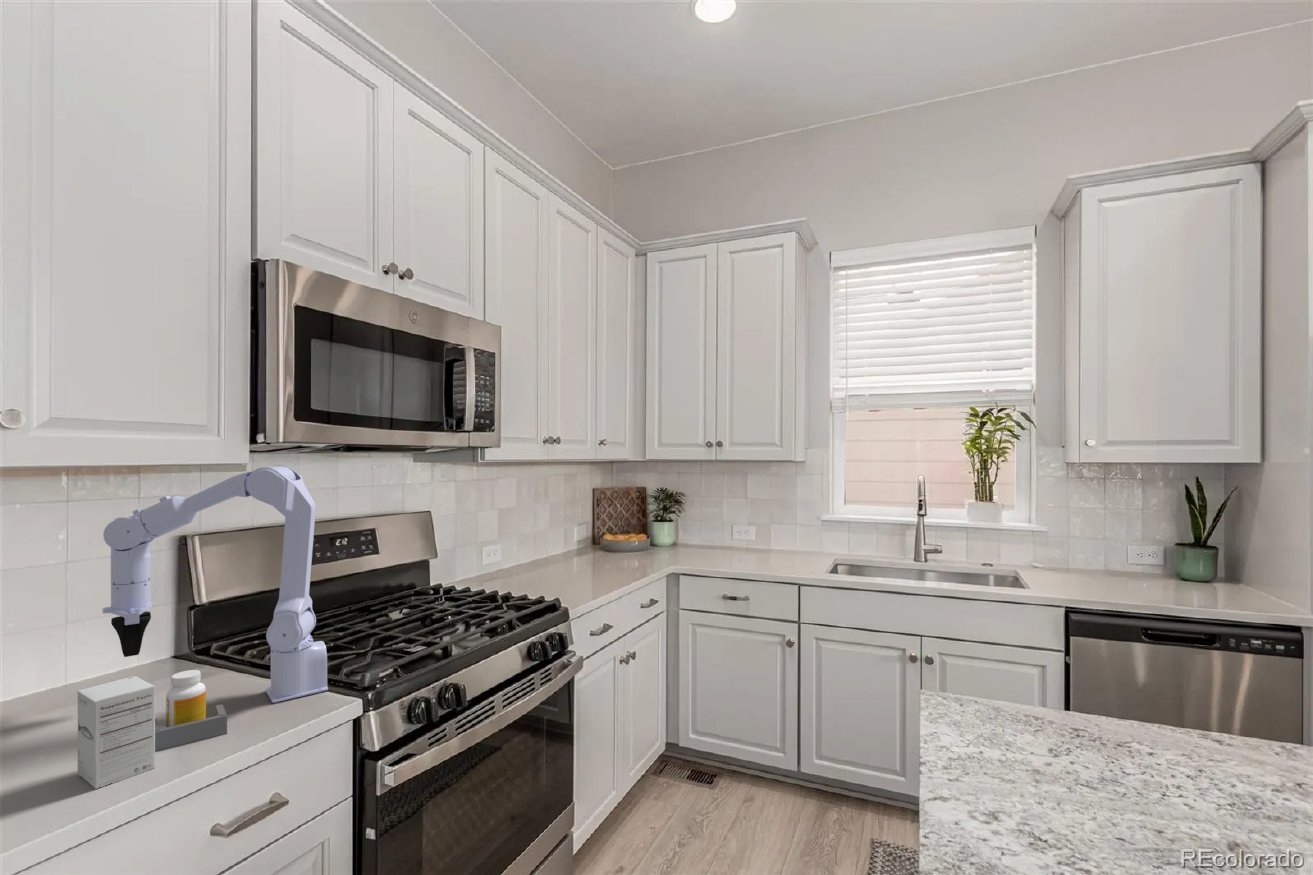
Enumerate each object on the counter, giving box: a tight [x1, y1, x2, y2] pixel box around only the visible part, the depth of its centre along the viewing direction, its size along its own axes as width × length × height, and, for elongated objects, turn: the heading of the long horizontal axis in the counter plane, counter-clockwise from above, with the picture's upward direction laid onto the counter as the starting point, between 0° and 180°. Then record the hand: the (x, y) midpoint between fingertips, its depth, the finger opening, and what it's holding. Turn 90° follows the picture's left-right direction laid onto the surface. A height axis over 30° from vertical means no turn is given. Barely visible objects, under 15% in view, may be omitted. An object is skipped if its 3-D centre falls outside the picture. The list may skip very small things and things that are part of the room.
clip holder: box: [155, 703, 228, 752], centre depth 106 cm, size 10×6×3 cm, turn 130°
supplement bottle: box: [165, 669, 207, 728], centre depth 108 cm, size 5×5×10 cm
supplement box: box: [77, 675, 156, 790], centre depth 95 cm, size 7×7×13 cm
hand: (131, 655), depth 118 cm, fingers closed
